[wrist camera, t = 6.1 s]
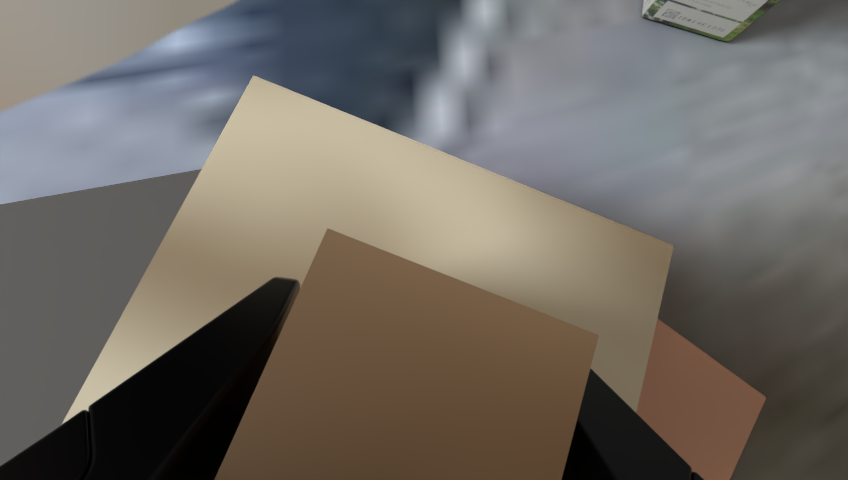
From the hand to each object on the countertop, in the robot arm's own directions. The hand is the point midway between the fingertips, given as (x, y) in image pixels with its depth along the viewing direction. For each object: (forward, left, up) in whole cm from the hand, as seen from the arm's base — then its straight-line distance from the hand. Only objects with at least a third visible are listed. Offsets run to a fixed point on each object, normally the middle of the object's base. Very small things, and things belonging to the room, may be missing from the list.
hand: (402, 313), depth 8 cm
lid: (-1, -1, -4) cm, 4 cm away
